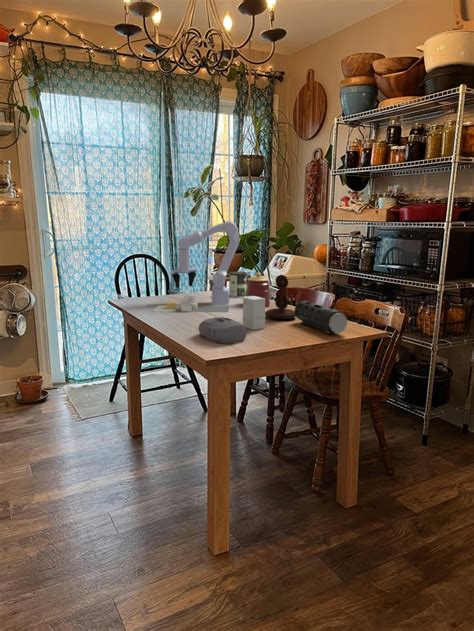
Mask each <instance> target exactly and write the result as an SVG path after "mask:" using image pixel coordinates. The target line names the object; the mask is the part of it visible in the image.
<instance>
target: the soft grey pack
mask: <svg viewBox="0 0 474 631" xmlns="http://www.w3.org/2000/svg"><path fill="white" fill-rule="evenodd" d="M198 332H199V336H202V337H204V338H205V339H206V340H208V341H210V340H211V342H215V343H217V342H218V343H219V344H225V345H226V344H227V345H230V343H231V344H236V342H237V343H240V342H243V341H244V340H246V338H247V334H248V332H247V328H246V327H245V326H244V325H243V323H241V322H239V321H236V320H235V319H232V318H228V317H222V316H221V317H210V318H206V319H204V320H203V321H201V322H200V323H199V325H198Z"/></svg>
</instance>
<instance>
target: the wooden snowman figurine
mask: <svg viewBox="0 0 474 631" xmlns="http://www.w3.org/2000/svg"><path fill="white" fill-rule="evenodd" d="M275 285H276V287H277V288H278V292H279V293H278V294H277V295H276V296H275V298H274V302H275V303H274V304H275V306H276V308H270V309H267V310H265V317H268V318H269V320H270V321H272V320H273V319H290V321H293V318H297V317H296V316H295V310H293V309H291V308H288V306H289V292H288V286H289V280H288V277H287V276H286V275H284V274H279V275H277V276H276V278H275ZM284 291H286V295H285V292H284Z"/></svg>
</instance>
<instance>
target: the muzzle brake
mask: <svg viewBox="0 0 474 631" xmlns="http://www.w3.org/2000/svg"><path fill="white" fill-rule="evenodd" d="M294 311H295V316H296V317H295V318H296V319H298V321H301V322H302V323H303V322H304V323H303V324H305V323H306V324H305V325H308V324H309V325H308V326H310V325H311V327H313V326H314V328H315V327H318V328H317V329H321V330H323V332H324V331H327V332H329V333H328V334H332V335H333V334H341V333H343V332H344V331H345V330H346V328H347V326H348V319H347V316H346V315H345V314H344V313H343V312H342V311H340V310H337V309H332V308H329V307H326V306H322V305H320V304H317V303H313V302H311V301H308V300H301V301H299V302H297V304H296V305H295V307H294Z"/></svg>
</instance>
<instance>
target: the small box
mask: <svg viewBox="0 0 474 631" xmlns="http://www.w3.org/2000/svg"><path fill="white" fill-rule="evenodd" d="M265 312H266V307H265V298H261V297H257V296H248V297H243V298H242V324H243V325H244V326H245V327H246V329H250V330H252V331H255V330H256V331H257V330H263V329H266V315H265Z"/></svg>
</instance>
